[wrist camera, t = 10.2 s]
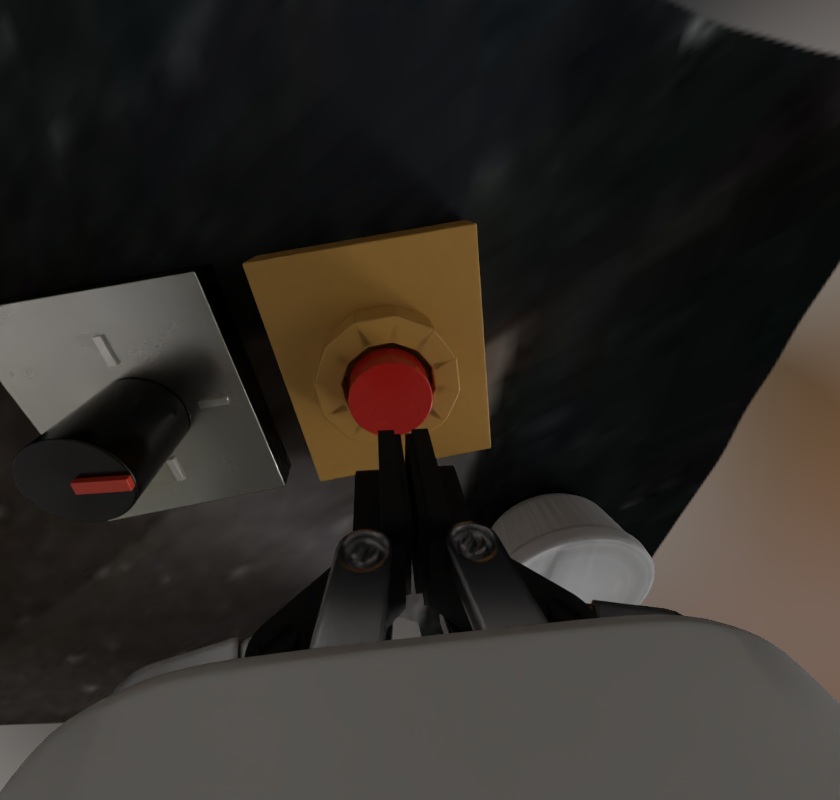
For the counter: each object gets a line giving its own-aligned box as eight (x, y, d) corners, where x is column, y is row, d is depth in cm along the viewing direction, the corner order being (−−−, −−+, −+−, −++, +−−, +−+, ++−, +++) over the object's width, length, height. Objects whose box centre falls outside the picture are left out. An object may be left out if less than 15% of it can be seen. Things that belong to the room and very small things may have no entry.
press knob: (340, 355, 17) (338, 371, 15) (421, 340, 17) (426, 355, 15) (359, 423, 18) (358, 444, 17) (431, 409, 19) (438, 428, 17)
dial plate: (-12, 301, 17) (-58, 314, 15) (211, 263, 18) (193, 271, 16) (127, 497, 23) (106, 524, 21) (291, 465, 23) (285, 488, 22)
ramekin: (447, 520, 27) (463, 586, 23) (592, 454, 26) (641, 509, 22) (499, 599, 33) (521, 665, 28) (622, 547, 32) (666, 608, 27)
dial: (114, 451, 19) (36, 533, 15) (82, 380, 17) (-20, 448, 13) (198, 446, 20) (147, 524, 15) (175, 376, 18) (110, 440, 13)
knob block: (254, 255, 18) (227, 271, 14) (465, 219, 18) (489, 226, 15) (323, 458, 24) (316, 504, 20) (481, 427, 24) (501, 467, 20)
